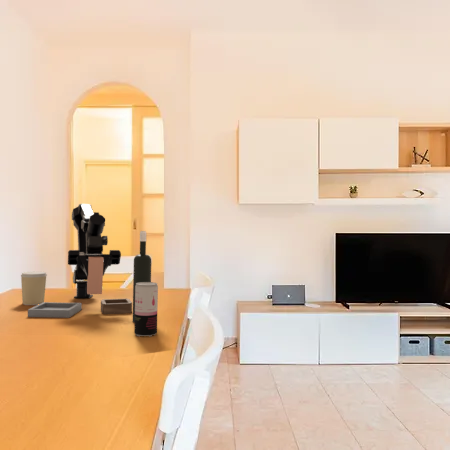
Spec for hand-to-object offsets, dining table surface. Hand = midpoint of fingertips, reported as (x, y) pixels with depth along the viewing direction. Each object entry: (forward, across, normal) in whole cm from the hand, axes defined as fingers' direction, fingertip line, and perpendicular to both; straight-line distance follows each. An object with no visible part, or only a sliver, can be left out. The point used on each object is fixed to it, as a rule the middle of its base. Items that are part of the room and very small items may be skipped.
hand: (95, 275), depth 164 cm
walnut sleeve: (+9, +8, +10) cm, 16 cm away
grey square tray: (+8, -13, +11) cm, 19 cm away
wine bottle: (+23, +14, -4) cm, 27 cm away
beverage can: (+35, +12, -16) cm, 41 cm away
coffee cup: (-7, -22, +26) cm, 35 cm away
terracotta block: (+4, 0, +6) cm, 7 cm away
